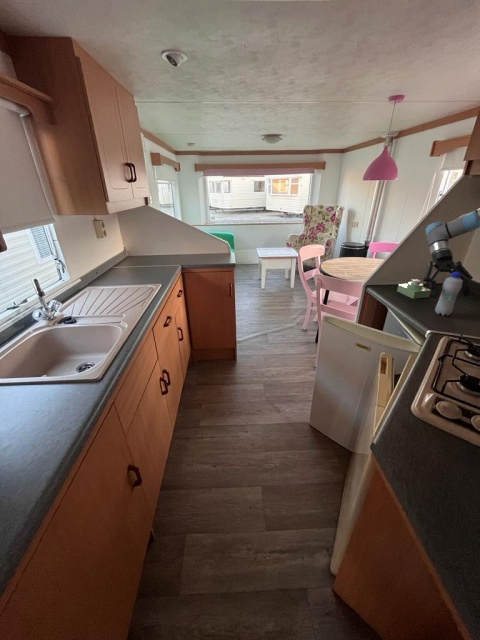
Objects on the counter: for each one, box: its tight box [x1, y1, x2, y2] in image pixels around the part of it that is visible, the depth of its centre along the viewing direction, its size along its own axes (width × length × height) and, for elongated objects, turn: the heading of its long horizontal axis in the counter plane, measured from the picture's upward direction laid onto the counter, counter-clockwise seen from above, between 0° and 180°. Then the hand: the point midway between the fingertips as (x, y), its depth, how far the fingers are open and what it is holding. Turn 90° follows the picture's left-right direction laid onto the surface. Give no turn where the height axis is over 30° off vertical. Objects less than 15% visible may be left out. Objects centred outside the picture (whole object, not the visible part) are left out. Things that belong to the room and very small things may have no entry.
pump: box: [410, 278, 422, 285], centre depth 143 cm, size 4×4×2 cm
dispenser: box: [396, 281, 432, 300], centre depth 145 cm, size 12×10×6 cm
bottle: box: [434, 272, 463, 317], centre depth 119 cm, size 7×7×20 cm
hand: (451, 295), depth 117 cm, fingers open, 13 cm apart
